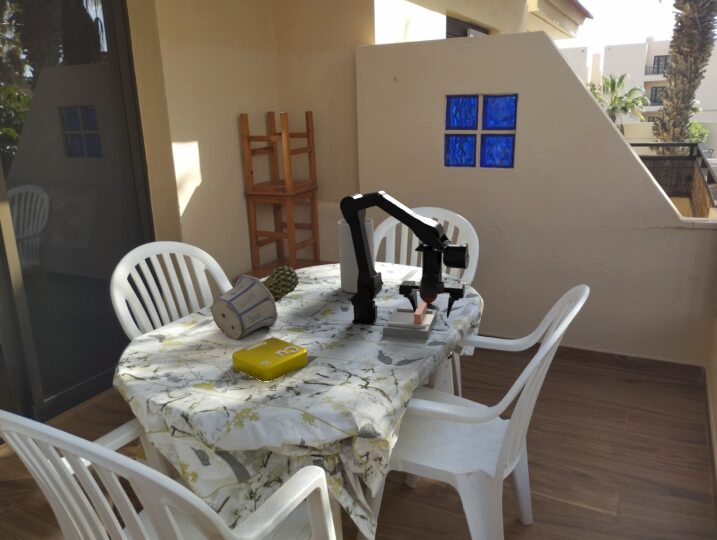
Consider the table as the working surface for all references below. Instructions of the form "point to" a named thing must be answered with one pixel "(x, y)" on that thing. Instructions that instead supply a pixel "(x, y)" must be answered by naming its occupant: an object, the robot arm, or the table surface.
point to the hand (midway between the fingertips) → (432, 316)
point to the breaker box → (409, 324)
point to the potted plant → (252, 302)
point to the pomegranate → (428, 300)
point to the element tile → (269, 359)
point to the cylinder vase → (352, 254)
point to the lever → (420, 313)
